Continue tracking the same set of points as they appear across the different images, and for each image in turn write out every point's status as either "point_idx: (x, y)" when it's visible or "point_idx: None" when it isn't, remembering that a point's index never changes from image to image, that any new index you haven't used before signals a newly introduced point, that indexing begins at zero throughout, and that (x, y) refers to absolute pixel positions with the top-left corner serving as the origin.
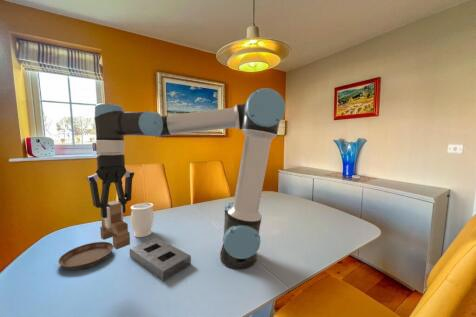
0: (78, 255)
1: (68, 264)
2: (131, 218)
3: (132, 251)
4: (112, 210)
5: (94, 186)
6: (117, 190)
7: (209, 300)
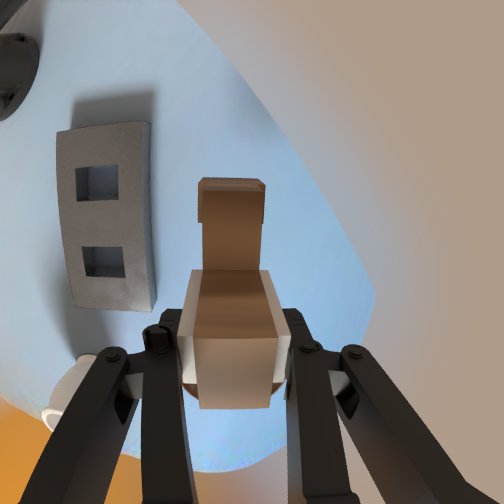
0: None
1: None
2: None
3: (150, 294)
4: (260, 310)
5: (447, 473)
6: (189, 463)
7: (138, 5)
